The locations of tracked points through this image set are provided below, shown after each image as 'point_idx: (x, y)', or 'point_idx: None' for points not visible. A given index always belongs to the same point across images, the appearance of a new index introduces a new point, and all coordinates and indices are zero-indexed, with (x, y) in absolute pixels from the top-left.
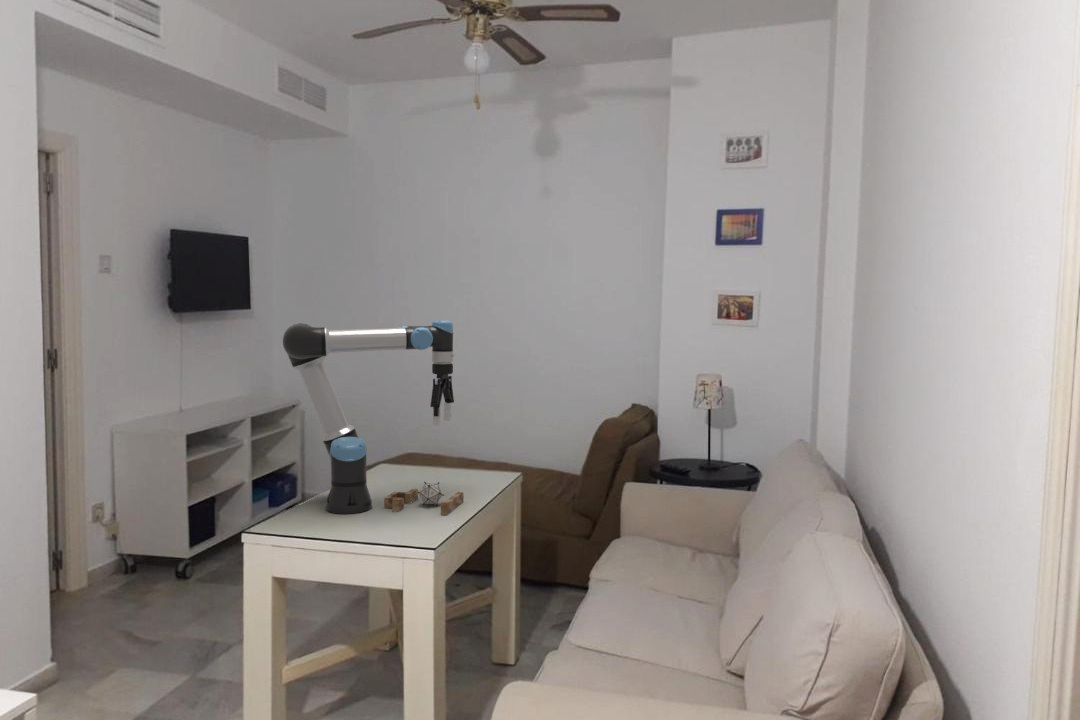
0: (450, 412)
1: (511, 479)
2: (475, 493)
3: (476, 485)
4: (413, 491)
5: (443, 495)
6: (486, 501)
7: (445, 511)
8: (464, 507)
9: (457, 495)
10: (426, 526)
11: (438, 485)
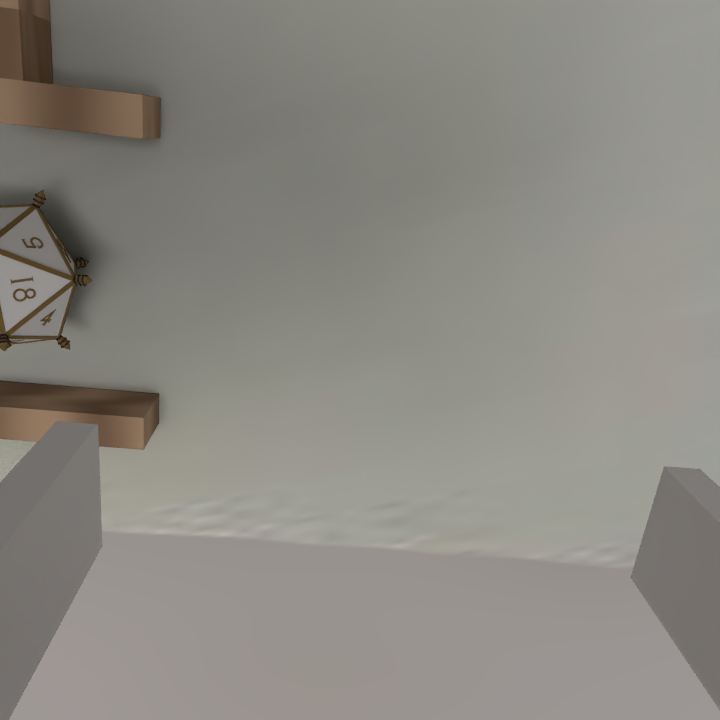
0: (712, 690)
1: None
2: (357, 446)
3: (548, 415)
4: (65, 126)
5: (61, 344)
6: (197, 529)
7: None
8: None
9: None
10: None
11: (10, 337)
